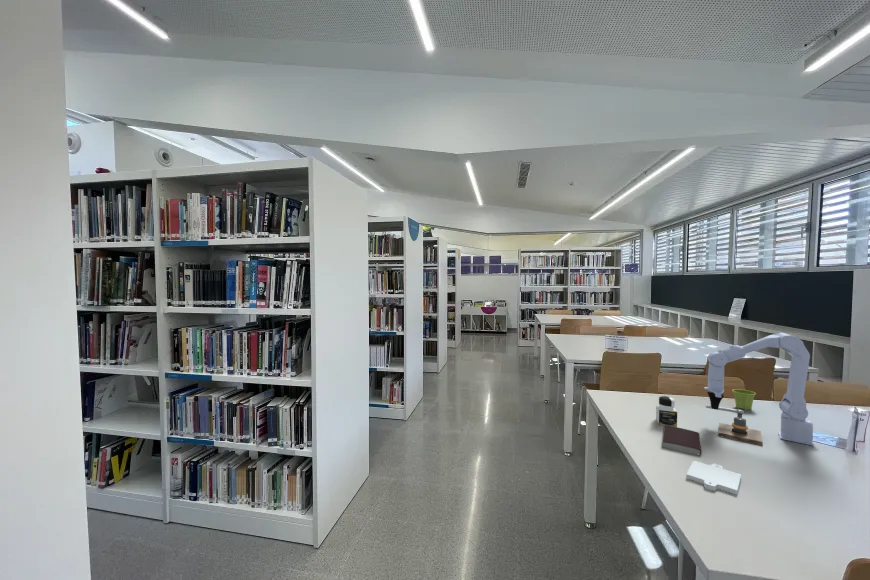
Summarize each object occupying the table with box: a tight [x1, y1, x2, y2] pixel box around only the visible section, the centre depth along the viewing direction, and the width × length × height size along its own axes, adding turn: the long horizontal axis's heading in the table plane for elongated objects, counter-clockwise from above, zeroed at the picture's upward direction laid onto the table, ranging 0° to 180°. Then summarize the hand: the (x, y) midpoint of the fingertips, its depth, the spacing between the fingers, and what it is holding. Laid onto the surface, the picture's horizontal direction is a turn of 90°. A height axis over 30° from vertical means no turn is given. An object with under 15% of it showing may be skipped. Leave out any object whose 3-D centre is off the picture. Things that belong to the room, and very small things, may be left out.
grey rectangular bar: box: [705, 404, 744, 415], centre depth 161 cm, size 13×2×1 cm, turn 56°
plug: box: [731, 416, 749, 435], centre depth 154 cm, size 5×5×7 cm
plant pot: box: [731, 388, 757, 411], centre depth 188 cm, size 9×9×9 cm
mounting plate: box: [685, 460, 742, 496], centre depth 119 cm, size 18×13×2 cm
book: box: [662, 425, 703, 456], centre depth 146 cm, size 12×19×3 cm, turn 146°
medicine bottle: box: [655, 395, 678, 427], centre depth 166 cm, size 7×7×12 cm
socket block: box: [717, 413, 764, 447], centre depth 154 cm, size 14×14×8 cm
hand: (714, 409), depth 162 cm, fingers closed, pressing on grey rectangular bar
